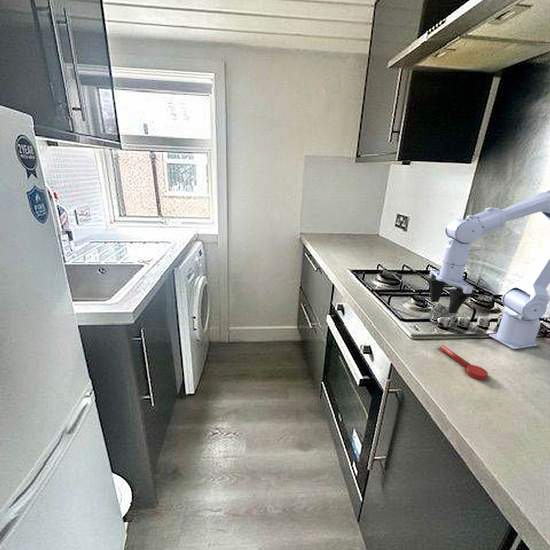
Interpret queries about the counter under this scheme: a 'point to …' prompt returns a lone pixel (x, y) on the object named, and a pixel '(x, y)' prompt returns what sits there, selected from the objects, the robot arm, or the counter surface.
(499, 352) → the counter surface
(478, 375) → the spoon
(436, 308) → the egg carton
